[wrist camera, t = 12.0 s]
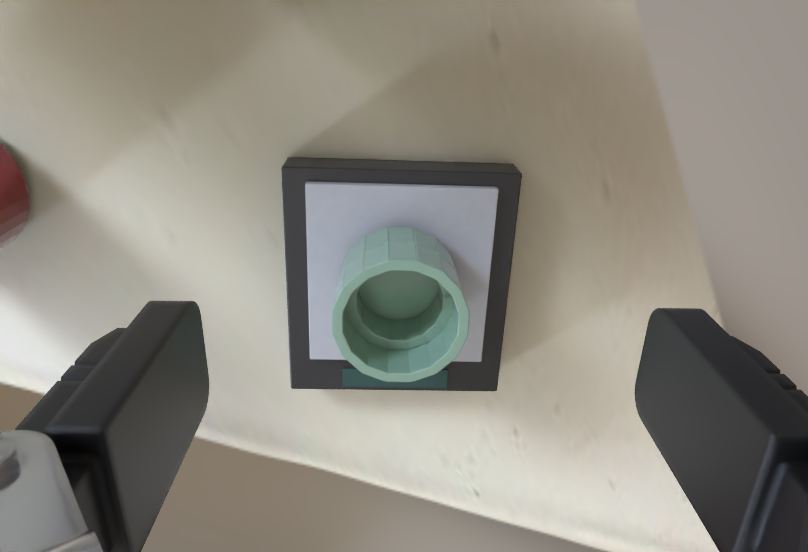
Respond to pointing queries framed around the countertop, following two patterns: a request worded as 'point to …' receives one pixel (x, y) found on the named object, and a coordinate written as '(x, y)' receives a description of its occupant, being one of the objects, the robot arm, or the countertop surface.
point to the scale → (396, 207)
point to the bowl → (399, 306)
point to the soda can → (11, 198)
